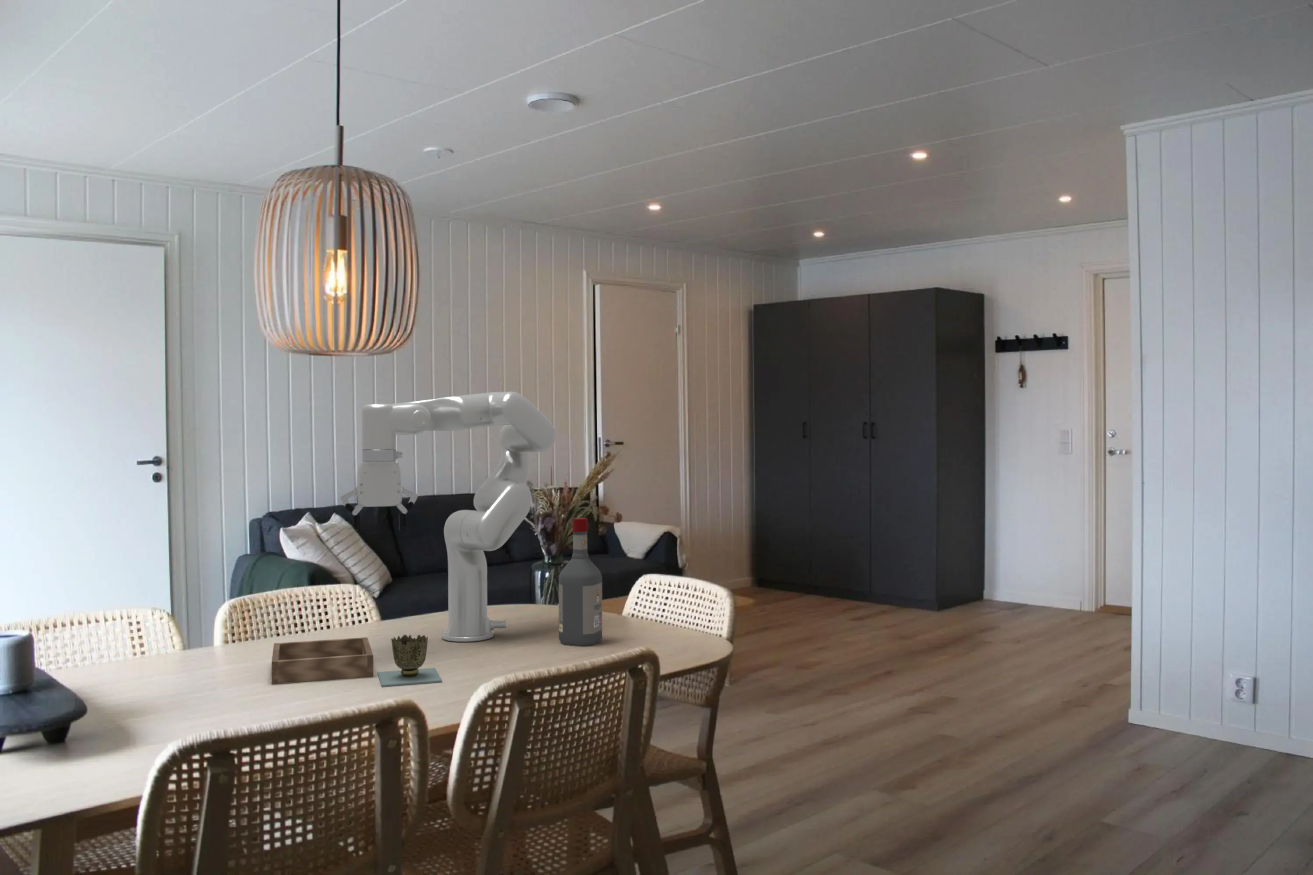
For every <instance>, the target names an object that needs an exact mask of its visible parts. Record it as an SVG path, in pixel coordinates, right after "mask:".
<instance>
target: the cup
mask: <svg viewBox="0 0 1313 875" xmlns="http://www.w3.org/2000/svg"><path fill="white" fill-rule="evenodd" d="M428 640H429V637H428V636H426V635H425V634H423V635H421V634H418V635H417V636H416V637H412V635H411V634H409V635H407V634H403V635H402V636H401V637H400V635H398V636H397V638H396V637H395V636H393V637H392V638H391V648H392V656H393V660H394V663H395V665H396V666H397V667H398V669H401V674H402V676H404V677H414V676H417V675H418V673H419V670H418V669H420V668H421V667H422V666H423V665H424V664H425V661H426V656H427V652H428V651H427V649H428Z"/></svg>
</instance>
